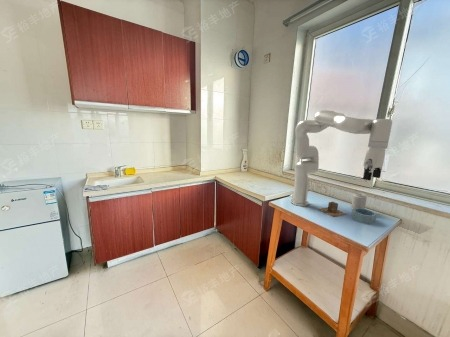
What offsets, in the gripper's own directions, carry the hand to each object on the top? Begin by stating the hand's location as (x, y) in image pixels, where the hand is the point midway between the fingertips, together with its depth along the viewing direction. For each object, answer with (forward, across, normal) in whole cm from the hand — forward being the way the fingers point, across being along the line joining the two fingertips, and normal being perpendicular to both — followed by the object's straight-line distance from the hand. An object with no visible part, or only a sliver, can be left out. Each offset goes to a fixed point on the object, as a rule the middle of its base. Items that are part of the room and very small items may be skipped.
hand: (371, 178), depth 96 cm
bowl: (+30, -17, -7) cm, 35 cm away
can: (+30, -29, -16) cm, 44 cm away
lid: (+31, -11, -23) cm, 39 cm away
